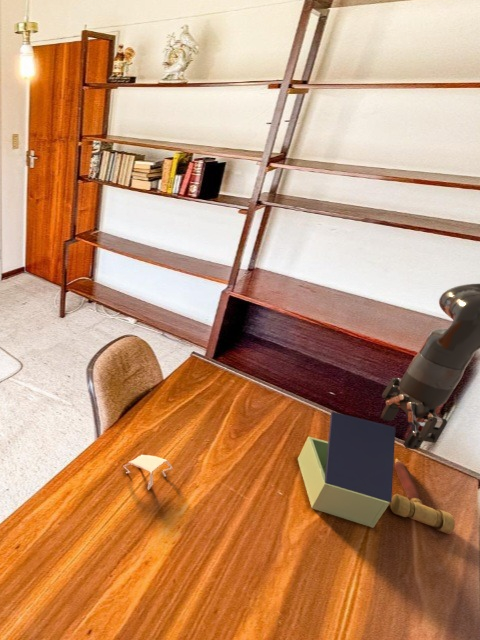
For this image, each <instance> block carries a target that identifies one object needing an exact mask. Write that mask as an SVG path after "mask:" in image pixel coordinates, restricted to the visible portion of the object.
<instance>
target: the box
mask: <svg viewBox="0 0 480 640" xmlns="http://www.w3.org/2000/svg"><path fill="white" fill-rule="evenodd" d="M327 452H328V440H323V439H319V438H316V437H312V436H307V438H306V440H305V442H304V444H303V446H302V449H301V451H300V453H299V455H298V457H297V463H298V466H299V469H300V473H301V476H302V479H303V480H302V481H303V483H304V486H305V490H306V495H307V497H308V500H309V503H310V508H311V509H312V510H315V511H319V512H322V513H325V514H328V515H332V516H335V517H338V518H340V519H344V520H347V521H351V522H353V523H356V524H360V525H363V526H365V527H369V528H372V529H373V528H375V526H376V525H377V523H378V522H379V520H380V519H381V518H382V516H383V514H384V513H385V511H386V510H387V509H388V507H389V506H390V505H391V502H387V501H384V500H381V499H377V498H374V497H371V496H367V495H364V494H361V493H357V492H354V491H350V490H347V489H344V488H340V487H337V486H334V485H330V484H327V483H325V475H326V463H327Z"/></svg>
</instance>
